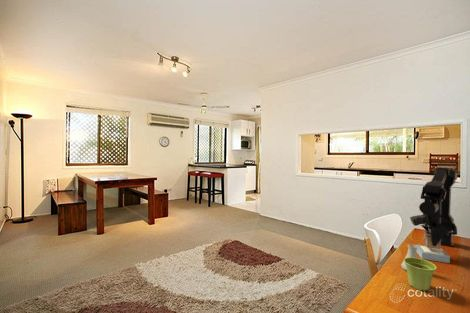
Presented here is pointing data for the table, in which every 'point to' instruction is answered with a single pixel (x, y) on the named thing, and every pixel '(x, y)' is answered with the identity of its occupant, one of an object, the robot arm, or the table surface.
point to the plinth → (433, 254)
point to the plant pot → (419, 273)
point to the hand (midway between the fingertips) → (432, 244)
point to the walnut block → (429, 242)
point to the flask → (410, 254)
